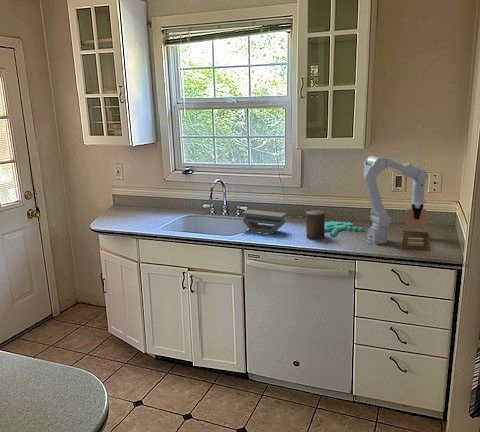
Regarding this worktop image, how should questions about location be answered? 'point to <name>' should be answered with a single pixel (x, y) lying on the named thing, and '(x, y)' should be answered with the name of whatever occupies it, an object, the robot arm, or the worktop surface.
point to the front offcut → (416, 243)
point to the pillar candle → (315, 224)
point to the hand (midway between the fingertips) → (416, 218)
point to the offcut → (415, 239)
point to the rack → (415, 235)
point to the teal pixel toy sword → (340, 227)
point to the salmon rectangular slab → (416, 222)
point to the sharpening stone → (263, 220)
